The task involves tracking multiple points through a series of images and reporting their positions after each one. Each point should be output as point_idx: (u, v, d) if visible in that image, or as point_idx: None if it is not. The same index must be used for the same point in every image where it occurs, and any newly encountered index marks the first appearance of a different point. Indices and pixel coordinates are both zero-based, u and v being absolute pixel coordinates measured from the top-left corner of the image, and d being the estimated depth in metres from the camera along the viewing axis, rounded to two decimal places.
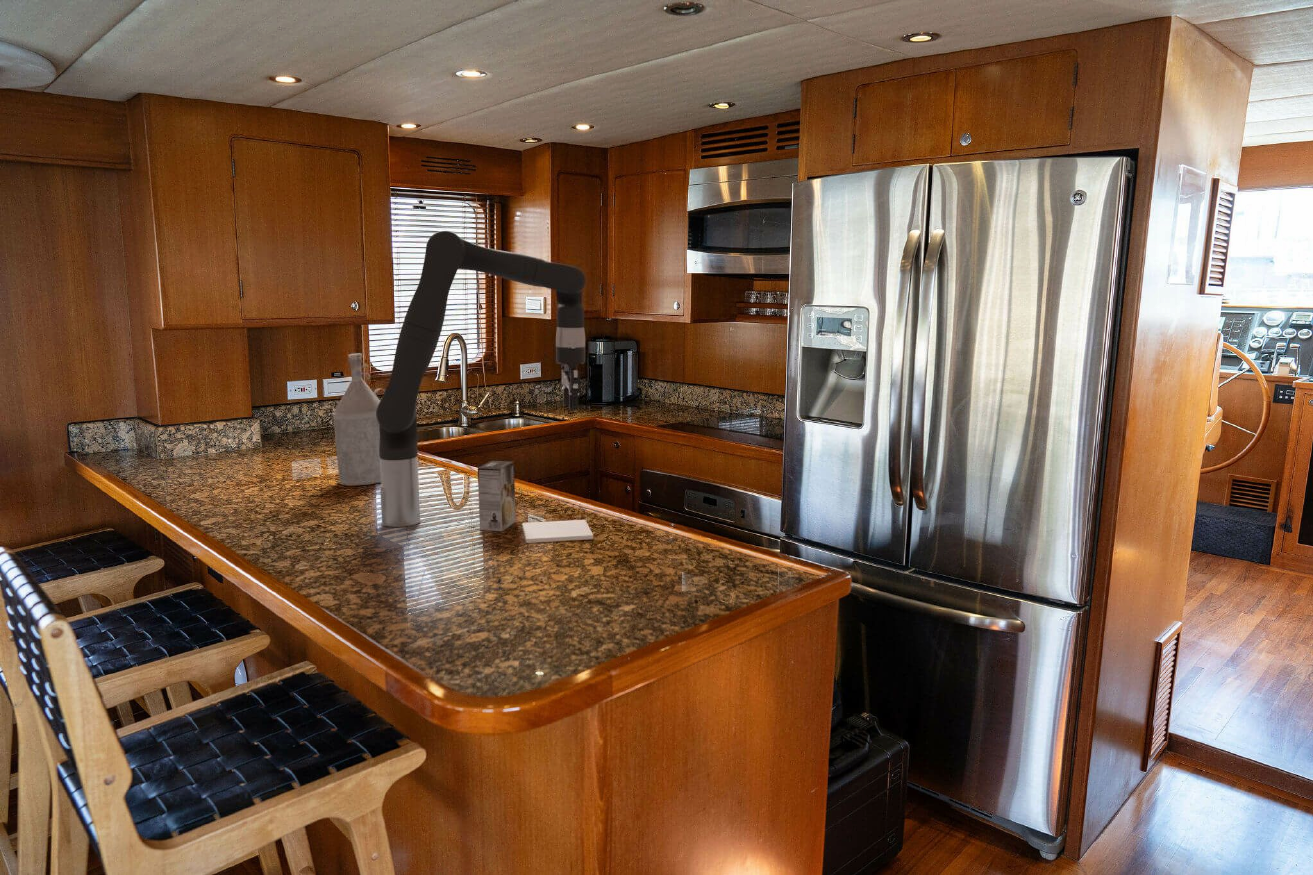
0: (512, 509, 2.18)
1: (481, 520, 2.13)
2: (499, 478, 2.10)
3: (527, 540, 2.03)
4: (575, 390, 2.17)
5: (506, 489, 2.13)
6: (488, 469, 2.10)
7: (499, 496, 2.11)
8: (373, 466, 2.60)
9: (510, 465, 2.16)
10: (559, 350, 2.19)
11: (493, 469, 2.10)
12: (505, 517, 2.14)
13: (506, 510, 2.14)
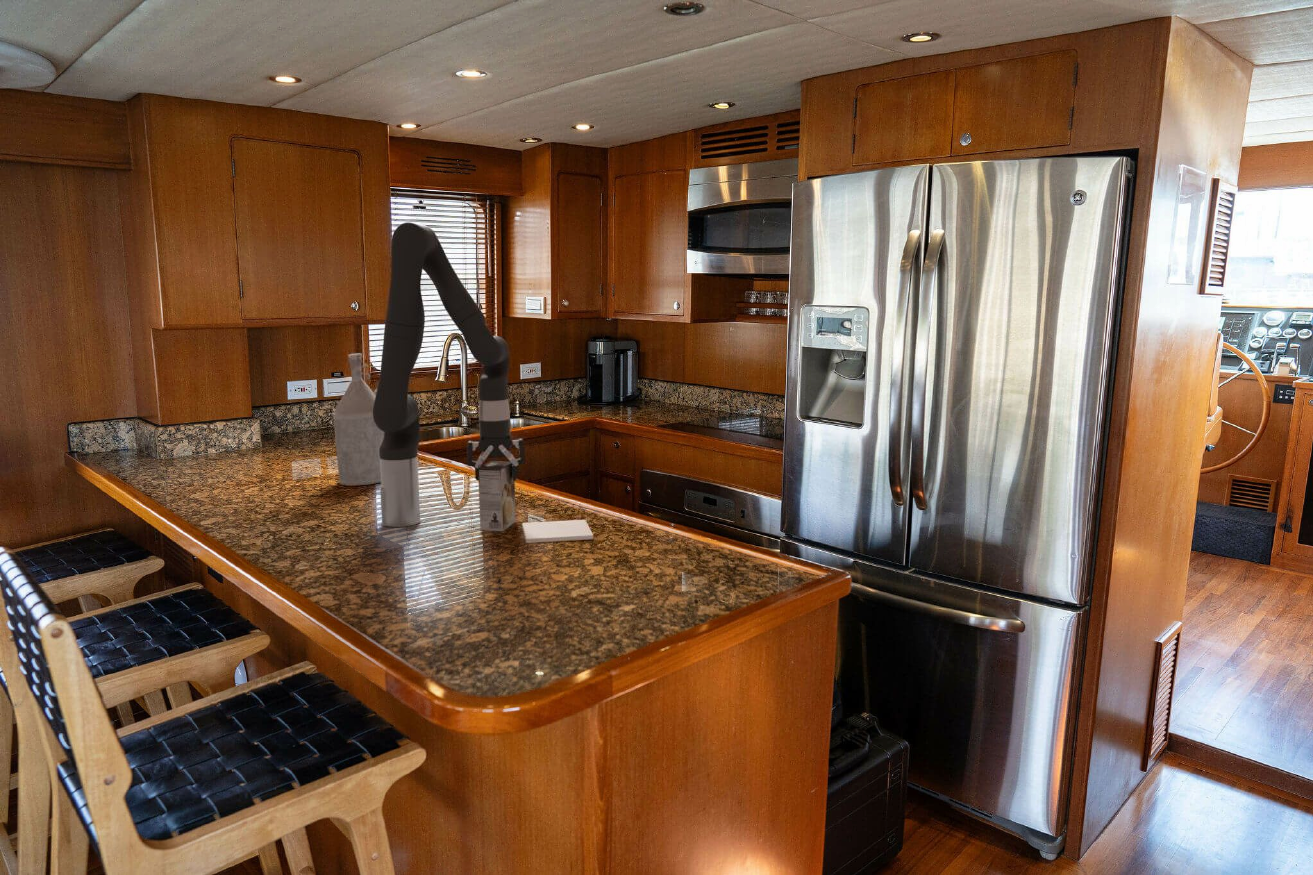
0: (512, 509, 2.18)
1: (481, 520, 2.13)
2: (500, 478, 2.10)
3: (527, 540, 2.03)
4: None
5: (506, 489, 2.14)
6: (489, 469, 2.10)
7: (500, 496, 2.11)
8: (373, 466, 2.60)
9: (510, 465, 2.16)
10: (502, 423, 2.10)
11: (494, 469, 2.10)
12: (506, 517, 2.14)
13: (506, 510, 2.14)
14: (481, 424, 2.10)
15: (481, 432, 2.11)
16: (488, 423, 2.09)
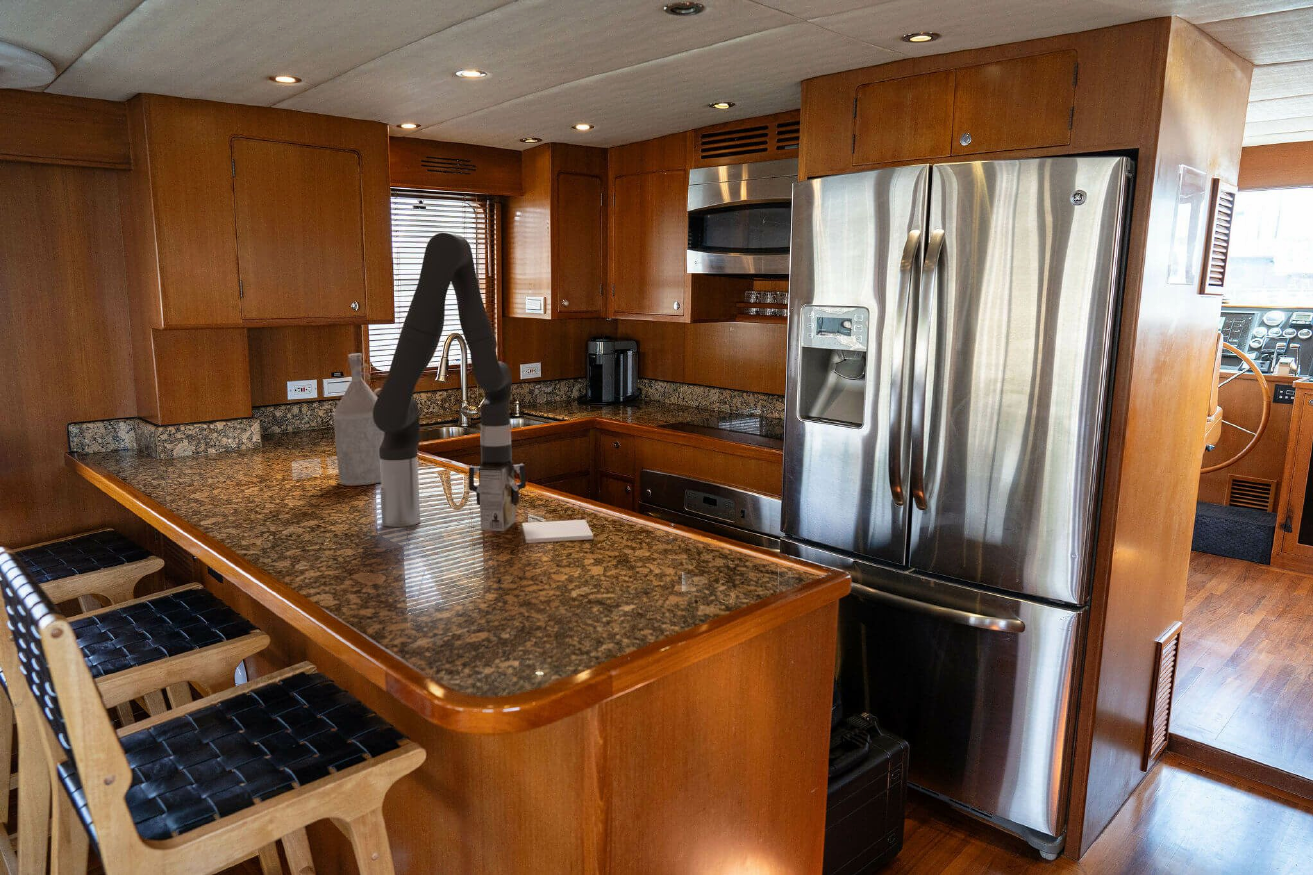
0: (512, 509, 2.19)
1: (482, 520, 2.13)
2: (500, 478, 2.10)
3: (527, 540, 2.03)
4: None
5: (507, 489, 2.14)
6: (489, 469, 2.10)
7: (501, 496, 2.11)
8: (373, 466, 2.60)
9: None
10: (504, 449, 2.11)
11: (494, 469, 2.10)
12: (506, 517, 2.14)
13: (507, 510, 2.14)
14: (483, 449, 2.12)
15: (482, 457, 2.12)
16: (490, 448, 2.10)
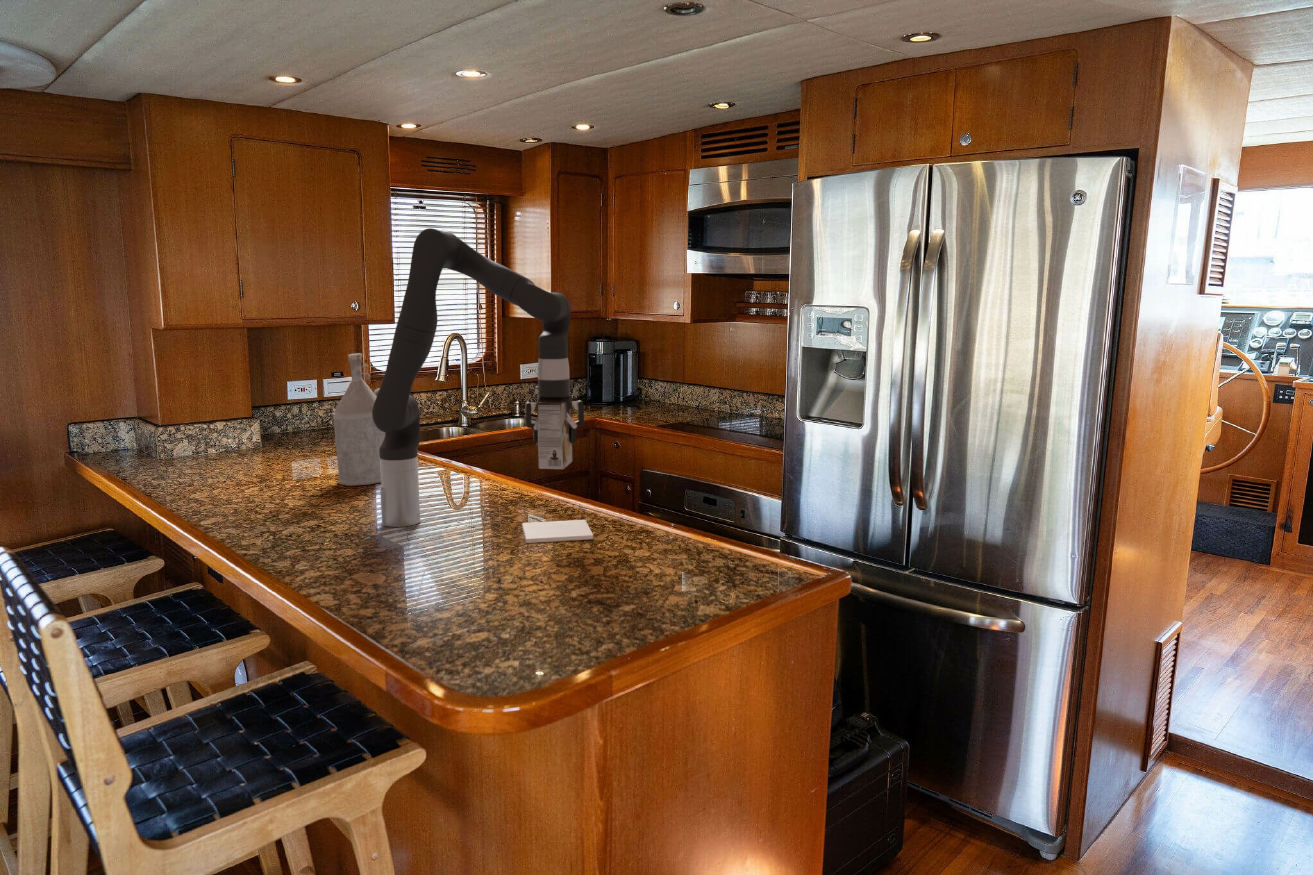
0: (570, 448, 2.10)
1: (540, 458, 2.05)
2: (560, 413, 2.02)
3: (527, 540, 2.03)
4: None
5: (565, 425, 2.05)
6: (548, 404, 2.02)
7: (560, 432, 2.03)
8: (373, 466, 2.60)
9: None
10: (562, 383, 2.03)
11: (554, 404, 2.02)
12: (565, 455, 2.06)
13: (565, 448, 2.06)
14: (540, 383, 2.03)
15: (540, 392, 2.04)
16: (548, 382, 2.02)
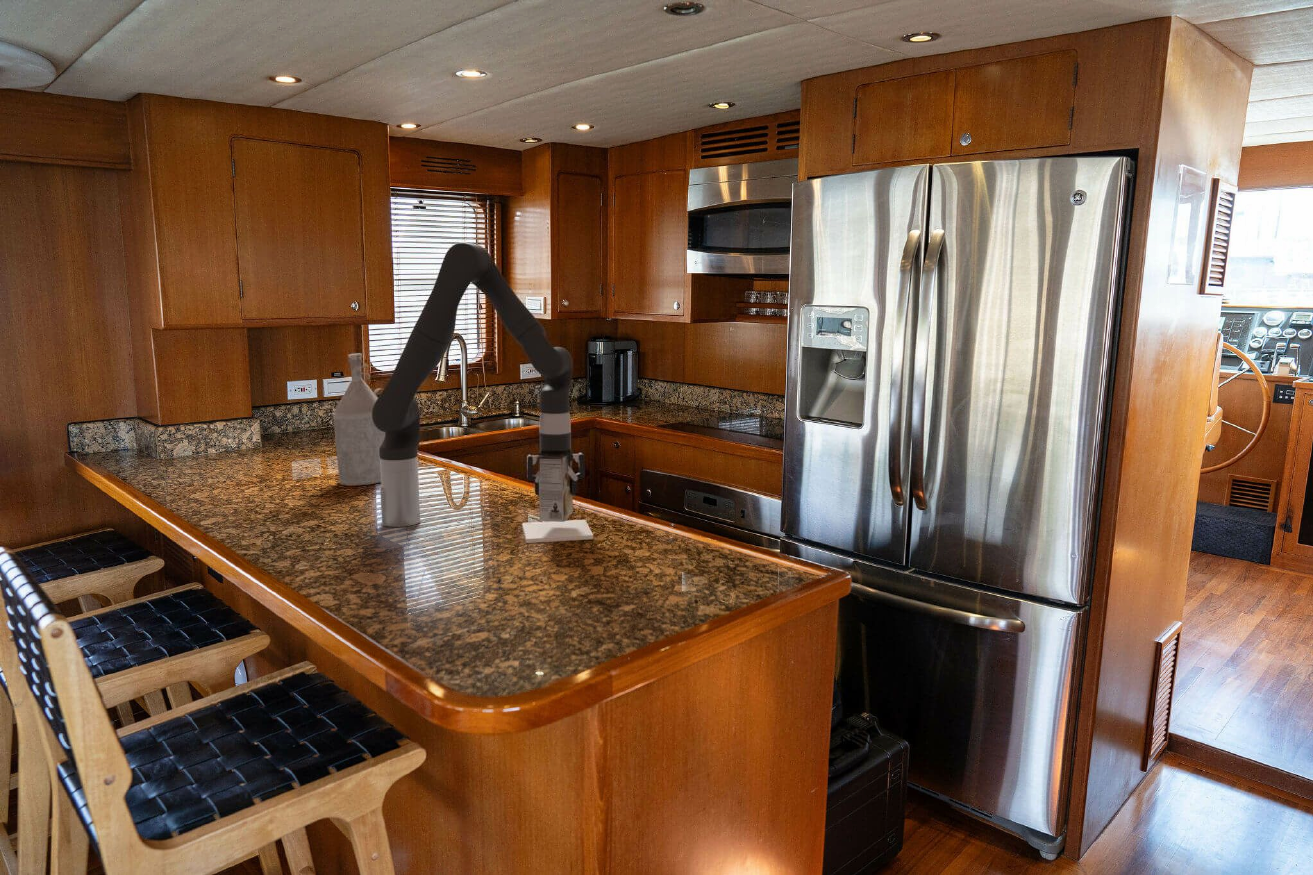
0: (570, 499, 2.12)
1: (541, 511, 2.07)
2: (561, 467, 2.04)
3: (527, 540, 2.03)
4: None
5: (566, 478, 2.07)
6: (550, 458, 2.04)
7: (561, 486, 2.05)
8: (373, 466, 2.60)
9: None
10: (564, 437, 2.05)
11: (555, 458, 2.04)
12: (566, 507, 2.08)
13: (566, 500, 2.08)
14: (542, 437, 2.05)
15: (542, 445, 2.06)
16: (550, 436, 2.04)
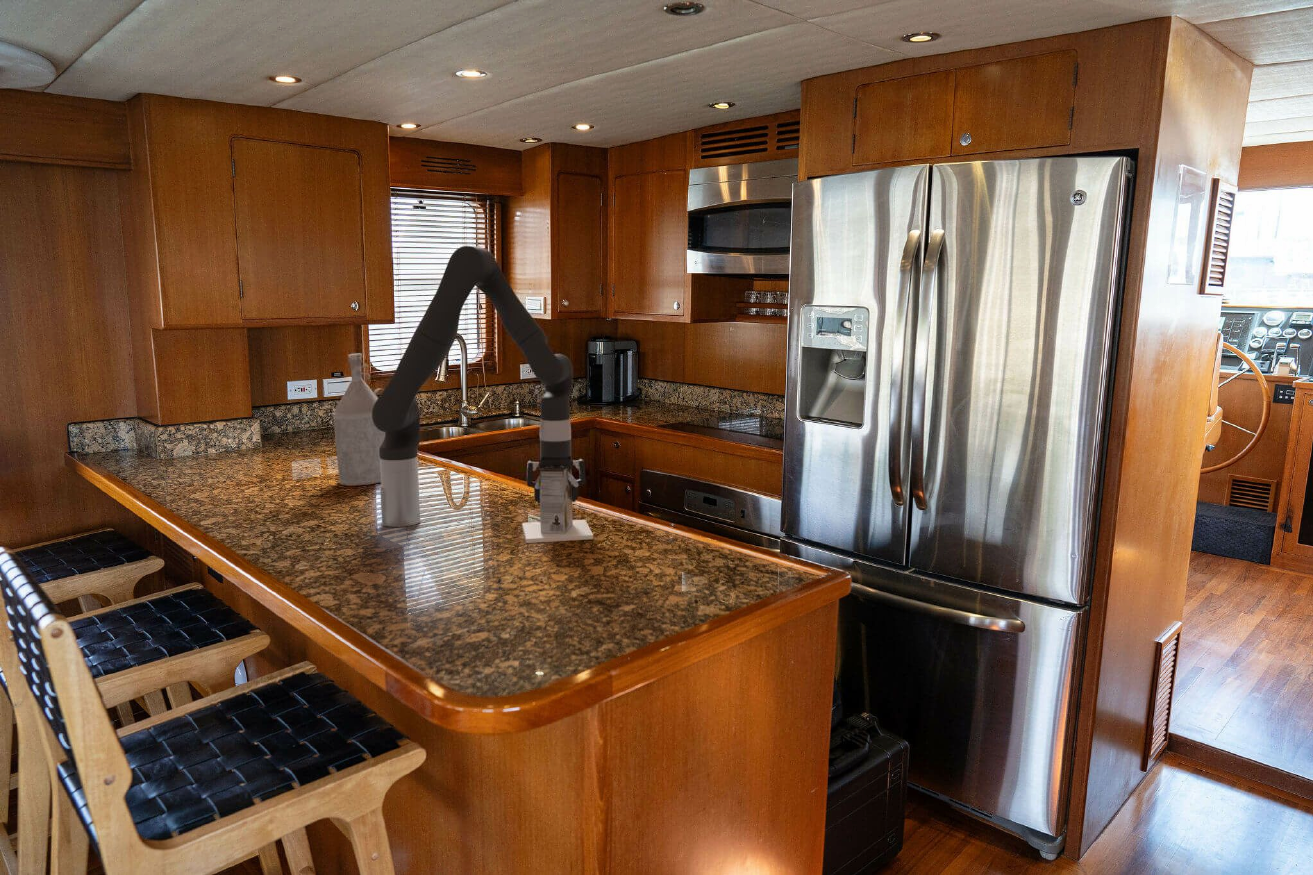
0: (570, 511, 2.13)
1: (542, 523, 2.07)
2: (562, 479, 2.05)
3: (527, 540, 2.03)
4: None
5: (567, 491, 2.08)
6: (551, 470, 2.05)
7: (562, 498, 2.06)
8: (373, 466, 2.60)
9: None
10: (564, 444, 2.05)
11: (556, 470, 2.05)
12: (567, 519, 2.09)
13: (567, 512, 2.09)
14: (542, 444, 2.06)
15: (542, 452, 2.06)
16: (550, 443, 2.04)
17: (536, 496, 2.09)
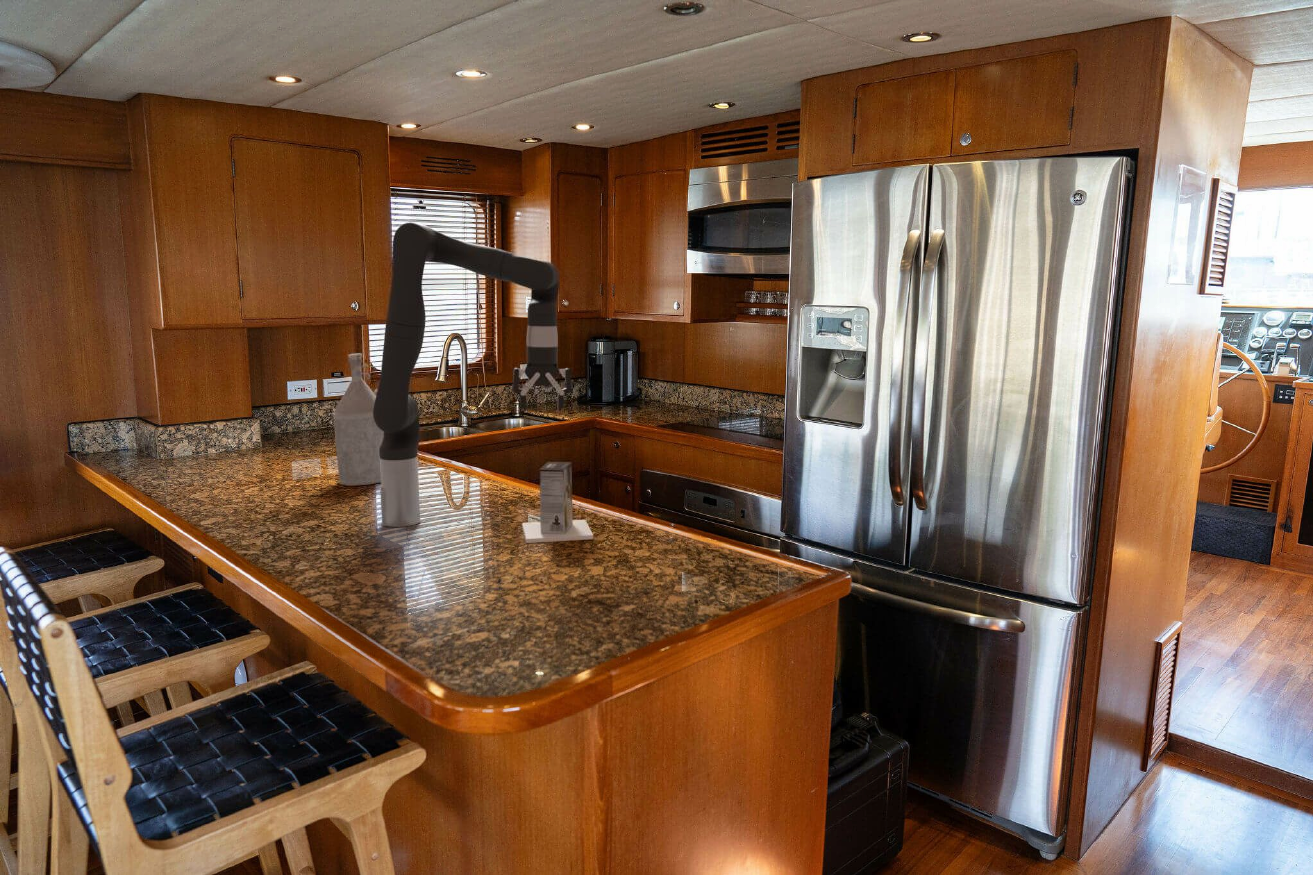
0: (571, 511, 2.13)
1: (542, 523, 2.07)
2: (562, 479, 2.05)
3: (527, 540, 2.03)
4: None
5: (567, 491, 2.08)
6: (551, 470, 2.05)
7: (562, 498, 2.06)
8: (373, 466, 2.60)
9: (569, 466, 2.10)
10: (550, 350, 2.06)
11: (556, 470, 2.05)
12: (567, 519, 2.09)
13: (567, 512, 2.09)
14: (529, 350, 2.07)
15: (528, 358, 2.07)
16: (536, 349, 2.06)
17: (522, 403, 2.10)
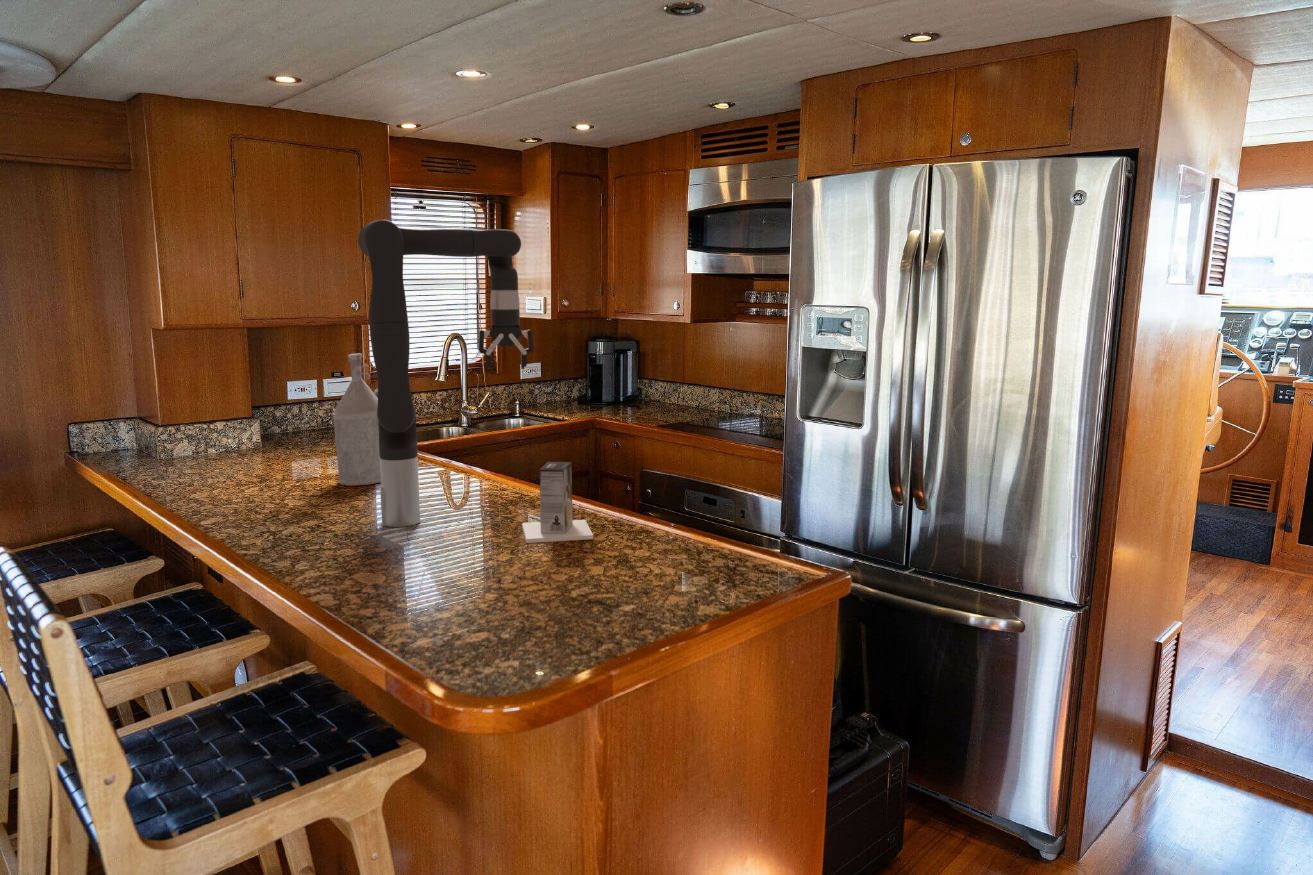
0: (571, 511, 2.13)
1: (542, 523, 2.07)
2: (562, 479, 2.05)
3: (527, 540, 2.03)
4: None
5: (567, 491, 2.08)
6: (551, 470, 2.05)
7: (562, 498, 2.06)
8: (373, 466, 2.60)
9: (569, 466, 2.10)
10: (512, 312, 2.24)
11: (556, 470, 2.05)
12: (567, 519, 2.09)
13: (567, 512, 2.09)
14: (492, 313, 2.24)
15: (492, 320, 2.24)
16: (499, 311, 2.23)
17: (487, 362, 2.27)
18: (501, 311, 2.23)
